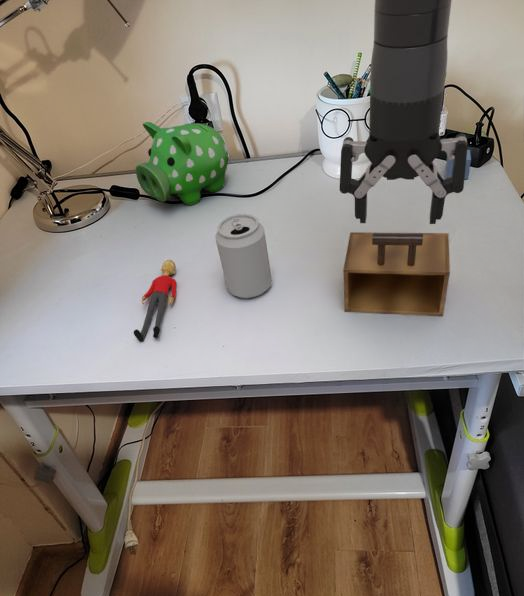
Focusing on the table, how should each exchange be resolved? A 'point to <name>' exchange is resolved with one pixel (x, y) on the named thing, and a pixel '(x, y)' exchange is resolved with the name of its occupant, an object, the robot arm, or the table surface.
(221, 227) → the can
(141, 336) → the person figure
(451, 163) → the slate blue cube
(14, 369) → the table surface
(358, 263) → the drawer
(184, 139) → the piggy bank
